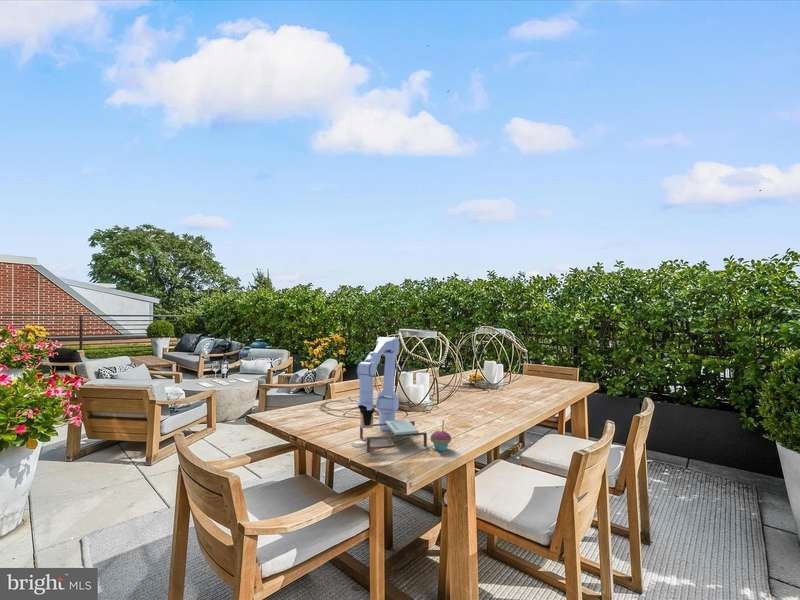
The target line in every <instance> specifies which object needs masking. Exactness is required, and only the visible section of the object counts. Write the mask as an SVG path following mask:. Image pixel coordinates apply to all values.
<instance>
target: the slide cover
mask: <svg viewBox="0 0 800 600" xmlns="http://www.w3.org/2000/svg"><path fill="white" fill-rule="evenodd" d="M409 421H410V420H408V419H407V418H406V419H395V420H393V421H386V424H387V426H388V427H389V428H390V429H391V430H390V431H392V433H393V435H402V434H413V433H420V431H419V429H418V428H416V426H415V427H414V426H413V425H412V423H410V422H409Z"/></svg>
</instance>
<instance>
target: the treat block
mask: <svg viewBox="0 0 800 600" xmlns="http://www.w3.org/2000/svg"><path fill="white" fill-rule="evenodd" d="M359 416H360V418H359V419H360V423H359V427H360V426H361V427H362V429H363V430H364V429H372V428H374V426H373V424H374V414H373V415H372V418H371V423H370V425H368V426H365V424H364V418H363V414H362V413H361V412H360V415H359Z"/></svg>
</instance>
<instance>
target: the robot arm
mask: <svg viewBox="0 0 800 600" xmlns="http://www.w3.org/2000/svg"><path fill="white" fill-rule="evenodd" d="M399 352H400V340H399V338H398V337H395V336H394V337H393V336H391V337H389V336H388V337H387V336H378V337H377V339H376V347H375V348H374V350H373V351H369V353H368V355H367V356H366V358H365V359H364V360H363V361H360V362H359V363H358V365H357V368H356V373H357V378H358V380H359V388H358V389H359V392H358V393H359V401H358V400H357V401H356V405H357V406H358V409H359V412H360V413H362V414H363V418H364V424H365V426H368V425H370V423H371V418H372V415H373V416H374V412H375V410H376V409H377V410H378V412H379V413H378V424H381V423H386V421H393V420H396V412H397V411H398V410H399V407H400V400H399V395H398V393H397V392H395V391H394V383H395V372H396V371H395V368H396V358H397V356H398V355H399ZM382 355H383V356H384V358H385V359H384V371H383V383H382V384H383V386H382V390H381V391H380V392H378V394H377V396H376V401H375V406H376V409H375V408H374V407H373V405H374V376H375V375H376V370H377V366H378V365H379V364H380V361H381V359H382V358H381V356H382ZM376 428H377V429H380V430H382V431H391V429H390V428H389V427H388V426H387V425H382V426H376Z"/></svg>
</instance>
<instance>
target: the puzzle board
mask: <svg viewBox="0 0 800 600" xmlns="http://www.w3.org/2000/svg"><path fill="white" fill-rule="evenodd" d="M408 421H409V422H410V423H411V424H412V425H413V426H414V427H416V426H415V420H408ZM382 425H387V424H386V423H381V424H379V423H373V427H377V426H382ZM363 433H364V428H363V429H362V427H361V426H360V425H359V438H360V439H363V438H364V437H363V435H364V434H363ZM427 434H428V433H427V432H425V431H424V432H419V433H413V434H402V435H395V434H391V435H389V434H388V435H380V436H378V435H376V436H367V437H365V438H364V441H362V440H360V441H354V442H352V443H351V444H350V446H351V447H353V448H364V447H366V452H371V450H374V449H375V450H376V449H385V448H386V449H387V448H394V447H395V446H396V445H395V443H394V442H393V440H392V439H391V438H399V437H400V438H401V437H412V436H413V437H414V436H423V446H424V447H427V446H428V445H427V444H428V443H427V442H428V440H427V439H428V437H427Z"/></svg>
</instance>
